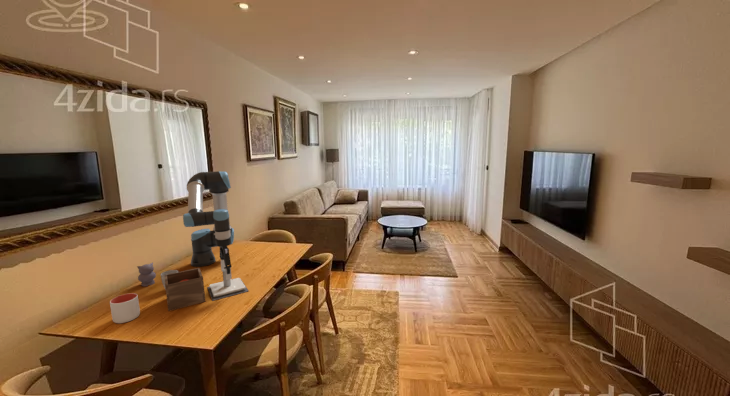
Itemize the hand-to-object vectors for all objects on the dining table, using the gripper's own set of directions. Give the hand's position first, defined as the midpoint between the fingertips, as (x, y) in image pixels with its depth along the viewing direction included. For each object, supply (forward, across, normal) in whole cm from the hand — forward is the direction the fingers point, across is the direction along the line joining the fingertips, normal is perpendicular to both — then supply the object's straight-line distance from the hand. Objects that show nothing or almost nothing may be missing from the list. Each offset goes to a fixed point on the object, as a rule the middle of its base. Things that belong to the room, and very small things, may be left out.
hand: (226, 274), depth 164 cm
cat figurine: (+9, -36, -37) cm, 52 cm away
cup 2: (+9, -18, -26) cm, 33 cm away
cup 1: (+9, +4, -44) cm, 45 cm away
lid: (+8, 0, 0) cm, 8 cm away
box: (+8, 0, -20) cm, 22 cm away
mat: (+8, 0, 0) cm, 9 cm away
